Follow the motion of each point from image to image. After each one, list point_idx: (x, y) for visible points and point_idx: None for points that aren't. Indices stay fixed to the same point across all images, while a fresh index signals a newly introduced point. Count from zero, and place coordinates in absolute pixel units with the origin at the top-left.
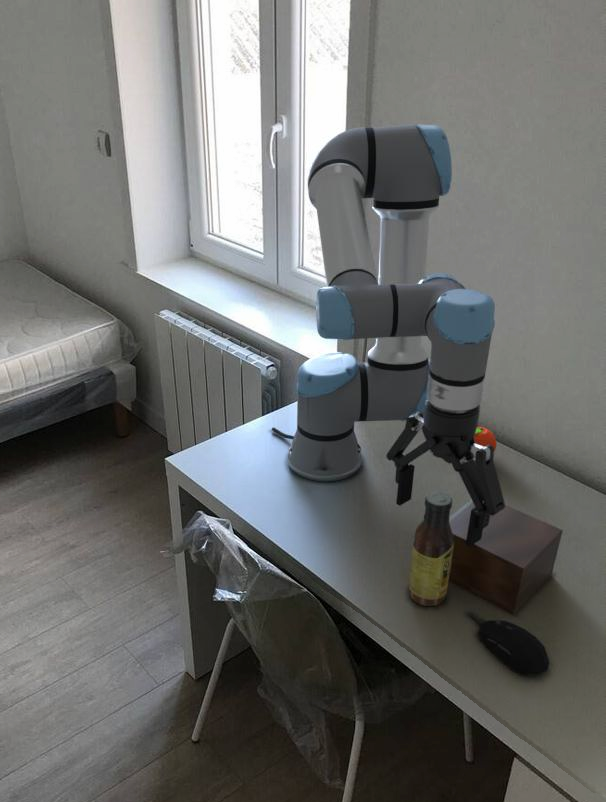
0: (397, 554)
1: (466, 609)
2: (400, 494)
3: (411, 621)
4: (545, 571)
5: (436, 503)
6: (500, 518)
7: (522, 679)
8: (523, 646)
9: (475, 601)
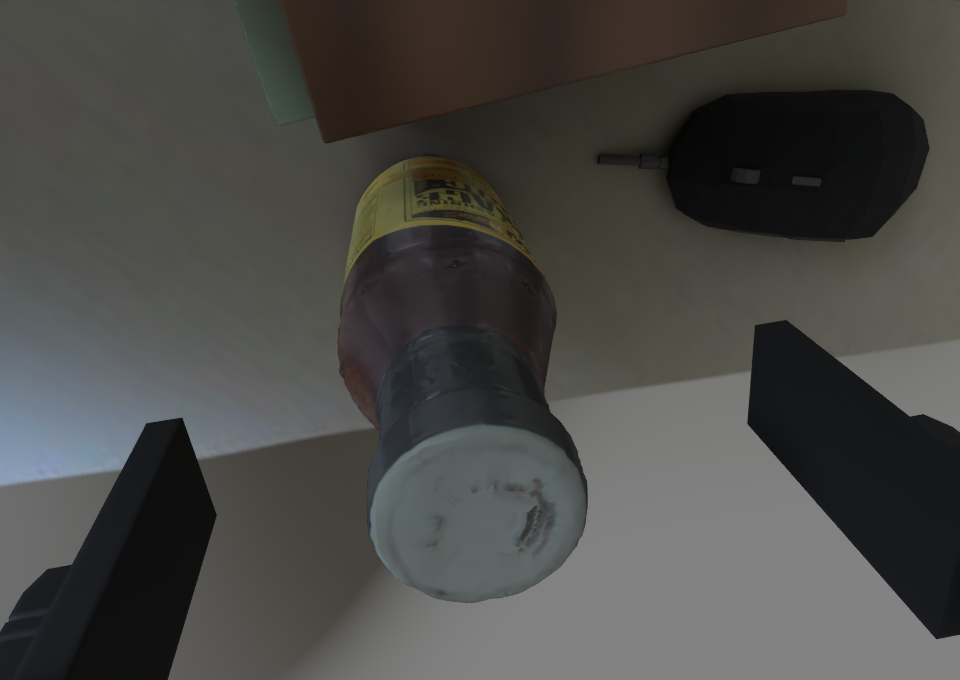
0: (155, 155)
1: (567, 146)
2: (190, 587)
3: None
4: None
5: (526, 576)
6: None
7: None
8: (880, 200)
9: None
